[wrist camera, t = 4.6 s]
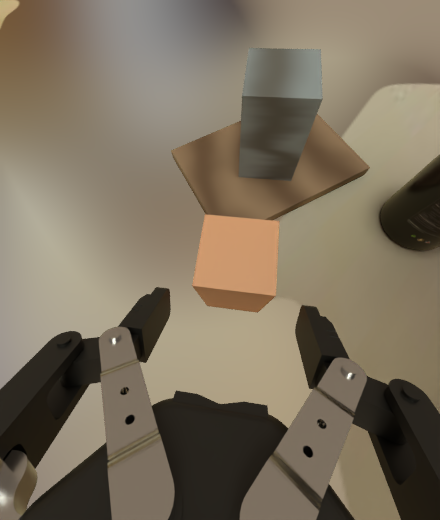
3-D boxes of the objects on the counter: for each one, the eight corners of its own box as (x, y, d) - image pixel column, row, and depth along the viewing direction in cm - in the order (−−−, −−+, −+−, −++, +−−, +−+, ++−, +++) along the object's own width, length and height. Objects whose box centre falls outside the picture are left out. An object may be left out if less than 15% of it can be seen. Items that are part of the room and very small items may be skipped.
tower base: (296, 104, 30) (327, -3, 21) (363, 174, 26) (442, 78, 16) (173, 158, 28) (143, 65, 19) (223, 244, 24) (218, 181, 14)
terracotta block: (261, 264, 23) (279, 221, 14) (257, 312, 21) (275, 295, 13) (214, 259, 23) (204, 214, 15) (207, 305, 22) (192, 285, 13)
